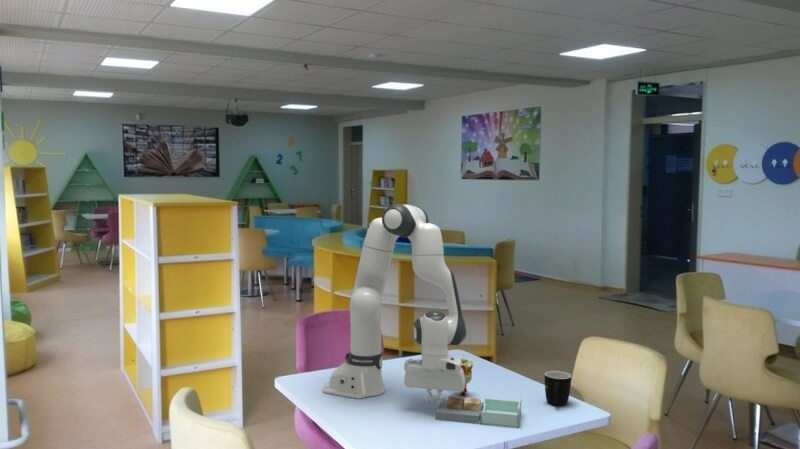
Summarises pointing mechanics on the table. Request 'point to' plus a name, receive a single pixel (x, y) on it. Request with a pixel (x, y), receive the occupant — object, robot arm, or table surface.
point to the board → (458, 414)
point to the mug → (557, 387)
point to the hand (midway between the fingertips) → (434, 401)
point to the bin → (501, 413)
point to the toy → (466, 373)
